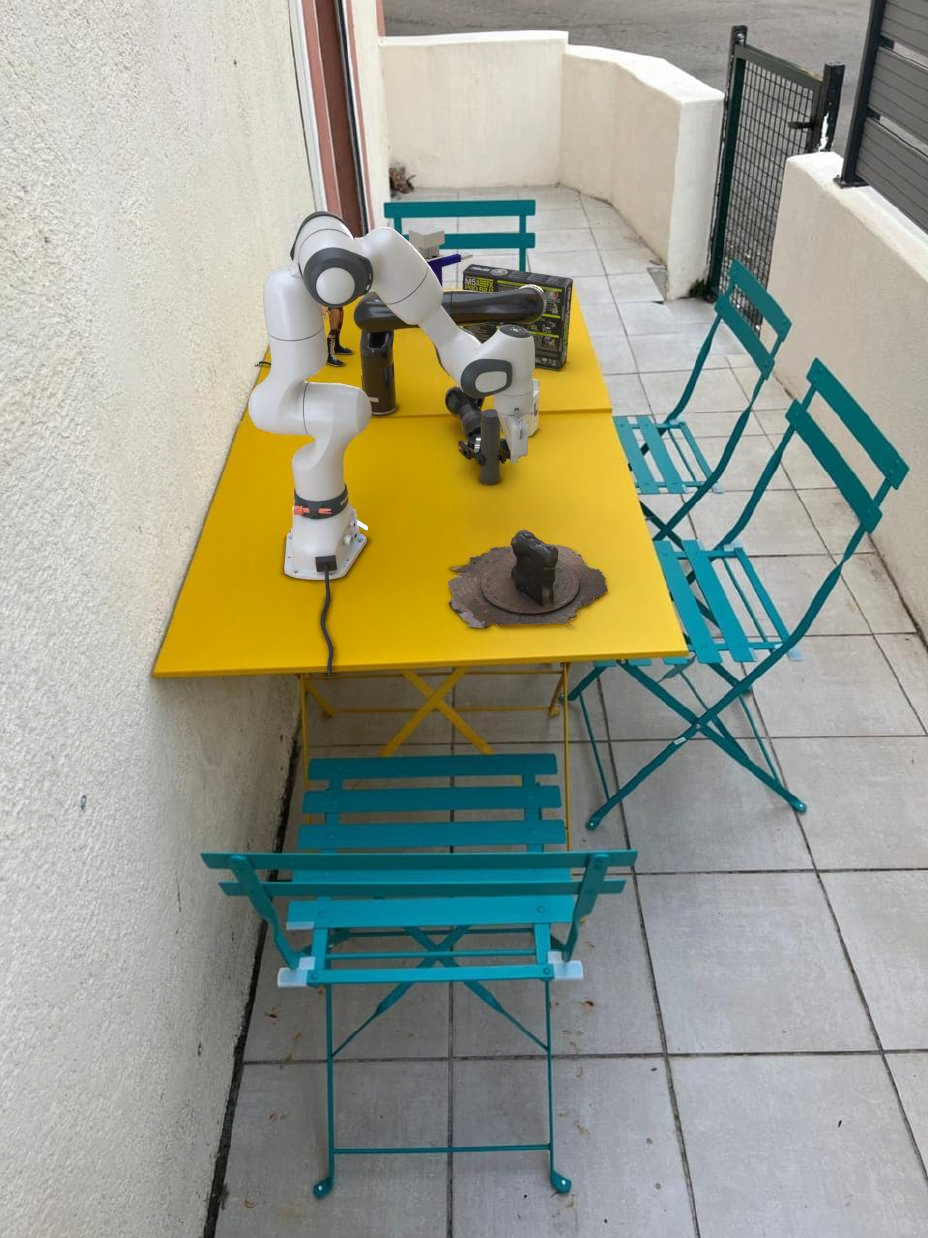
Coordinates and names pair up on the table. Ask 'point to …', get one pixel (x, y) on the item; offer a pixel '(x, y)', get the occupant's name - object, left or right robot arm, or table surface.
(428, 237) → the toy
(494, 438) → the dark grey cylinder
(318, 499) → the left robot arm
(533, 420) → the ink box
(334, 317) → the figurine
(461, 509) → the table surface
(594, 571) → the sculpture
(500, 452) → the lid
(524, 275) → the box
